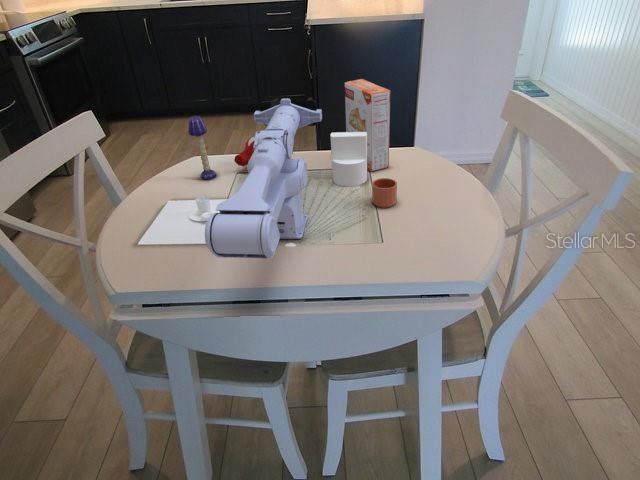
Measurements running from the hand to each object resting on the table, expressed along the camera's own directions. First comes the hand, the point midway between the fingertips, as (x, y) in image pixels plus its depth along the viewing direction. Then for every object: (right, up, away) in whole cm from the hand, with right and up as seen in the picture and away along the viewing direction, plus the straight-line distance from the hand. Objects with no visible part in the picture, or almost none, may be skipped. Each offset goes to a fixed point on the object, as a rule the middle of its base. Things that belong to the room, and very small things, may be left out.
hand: (294, 102), depth 105 cm
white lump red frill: (-10, -11, +24) cm, 29 cm away
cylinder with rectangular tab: (+14, -16, +14) cm, 25 cm away
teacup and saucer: (-23, -27, +1) cm, 36 cm away
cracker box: (+19, -10, +23) cm, 31 cm away
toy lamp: (-25, -15, +20) cm, 35 cm away
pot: (+21, -23, +2) cm, 31 cm away
